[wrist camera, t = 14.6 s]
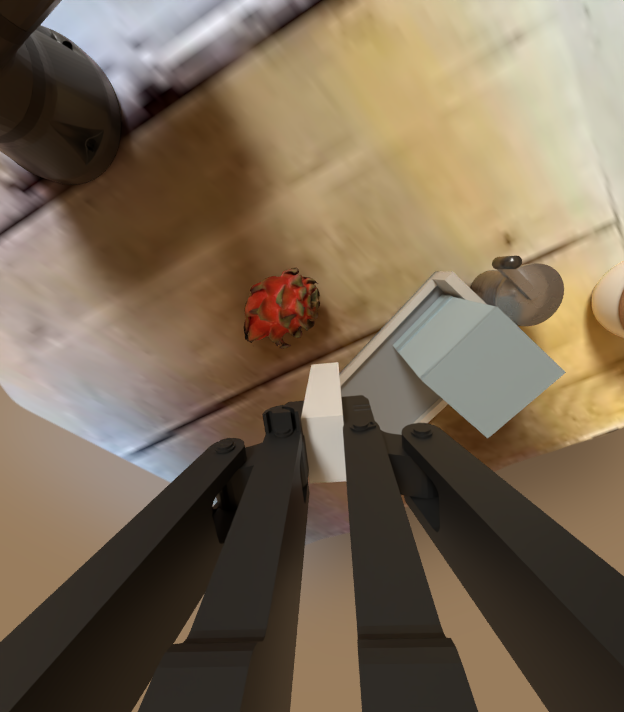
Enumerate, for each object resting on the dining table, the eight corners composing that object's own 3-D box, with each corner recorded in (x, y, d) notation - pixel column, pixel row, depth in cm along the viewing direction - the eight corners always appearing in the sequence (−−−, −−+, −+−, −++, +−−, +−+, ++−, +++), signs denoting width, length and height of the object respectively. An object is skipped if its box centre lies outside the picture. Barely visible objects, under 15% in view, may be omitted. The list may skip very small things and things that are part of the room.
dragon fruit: (327, 280, 43) (263, 327, 47) (288, 238, 37) (219, 296, 42) (344, 321, 38) (270, 371, 42) (302, 279, 32) (221, 342, 36)
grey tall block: (440, 387, 44) (489, 439, 30) (391, 344, 43) (420, 379, 29) (490, 340, 42) (567, 373, 28) (440, 293, 40) (496, 305, 27)
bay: (356, 480, 50) (360, 508, 44) (288, 427, 48) (283, 448, 42) (508, 340, 43) (536, 351, 37) (435, 271, 41) (452, 271, 35)
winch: (487, 324, 42) (545, 344, 31) (441, 280, 41) (483, 285, 30) (525, 287, 41) (601, 294, 29) (479, 241, 39) (539, 229, 28)
